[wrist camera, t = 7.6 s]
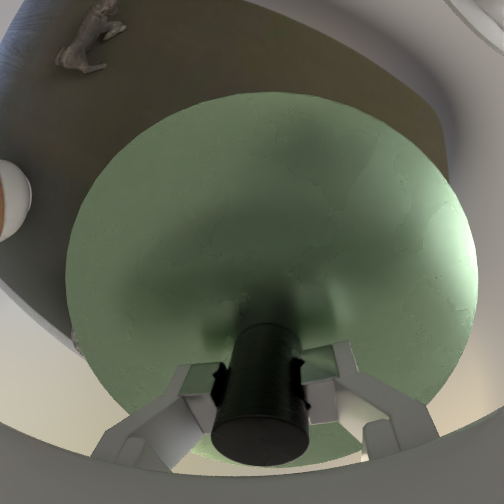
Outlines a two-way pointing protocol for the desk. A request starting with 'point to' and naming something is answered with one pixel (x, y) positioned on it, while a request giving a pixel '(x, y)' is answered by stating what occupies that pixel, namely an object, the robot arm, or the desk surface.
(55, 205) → the desk surface
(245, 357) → the tin lid
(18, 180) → the lidded bowl
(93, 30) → the dog figurine
